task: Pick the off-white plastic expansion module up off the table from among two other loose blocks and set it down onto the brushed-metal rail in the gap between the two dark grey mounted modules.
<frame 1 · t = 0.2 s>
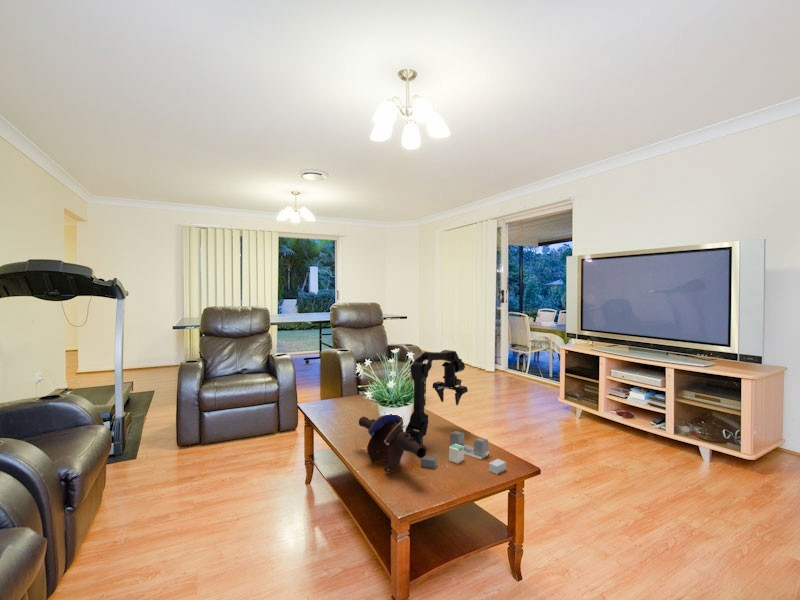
hand: (449, 403, 201), 14 cm above the table, fingers open, 9 cm apart
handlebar: (388, 465, 163), on the table
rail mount: (468, 451, 176), on the table
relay: (429, 466, 163), on the table
terminal block: (497, 470, 158), on the table
module: (456, 460, 168), on the table
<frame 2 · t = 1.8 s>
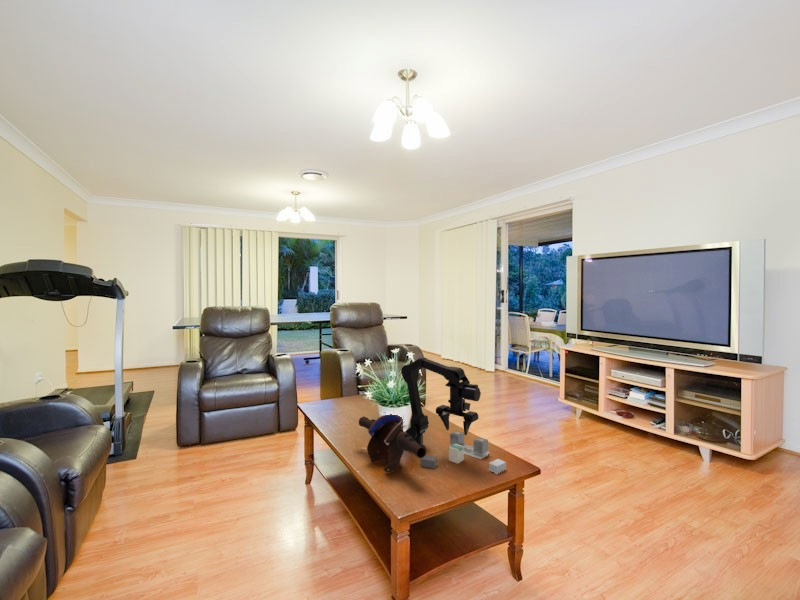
hand: (456, 432, 167), 12 cm above the table, fingers open, 9 cm apart
nothing on the table moved.
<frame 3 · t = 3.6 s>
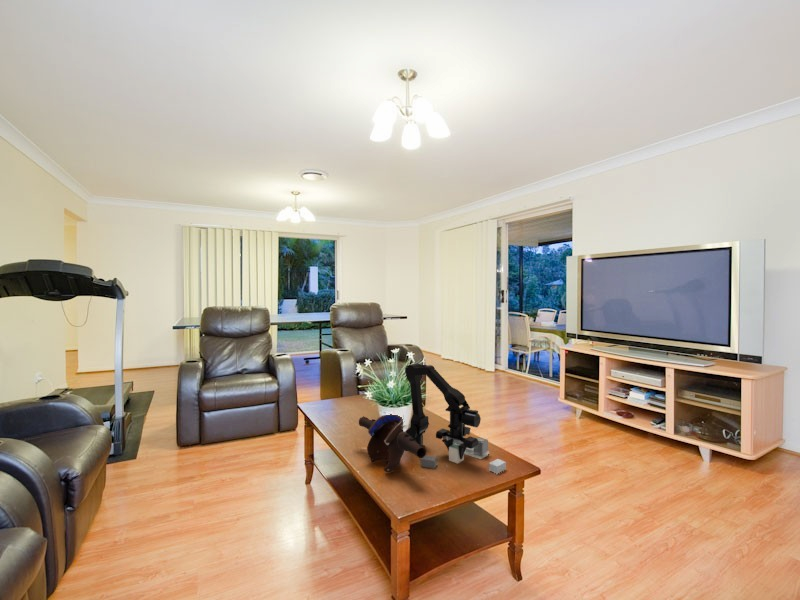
hand: (456, 457, 168), 1 cm above the table, fingers closed on module, 4 cm apart
module: (456, 460, 168), on the table, touching gripper
everything else where it was.
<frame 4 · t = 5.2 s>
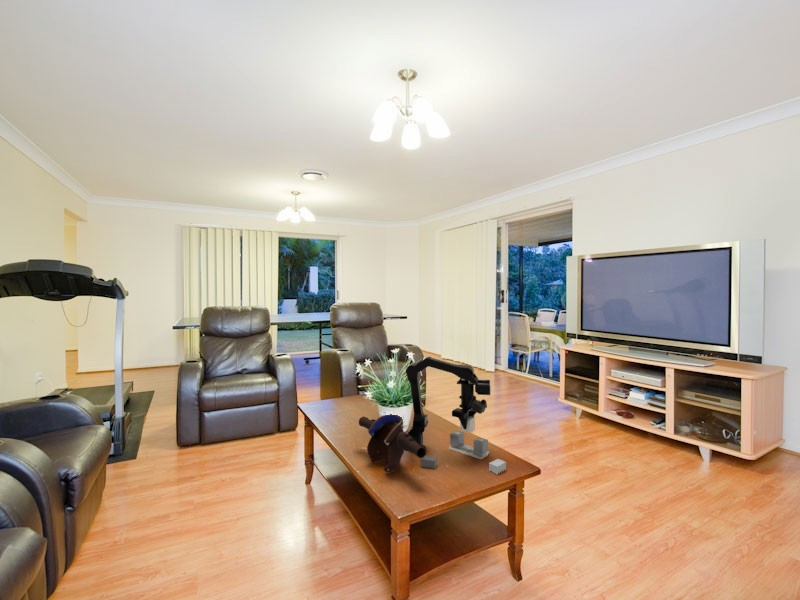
hand: (467, 427, 175), 12 cm above the table, fingers closed on module, 4 cm apart
module: (467, 430, 175), point 10 cm above the table, touching gripper
everything else where it was.
when the fingers open (4 cm above the table, at t = 7.0 s): module stays where it is, resting on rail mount.
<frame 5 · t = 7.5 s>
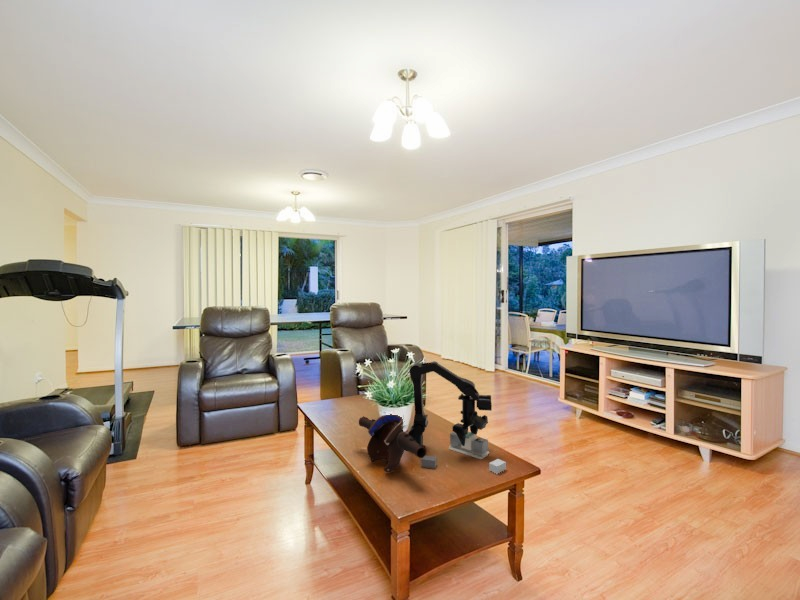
hand: (468, 442, 176), 4 cm above the table, fingers open, 9 cm apart
module: (468, 447, 176), point 2 cm above the table, touching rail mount
everything else where it was.
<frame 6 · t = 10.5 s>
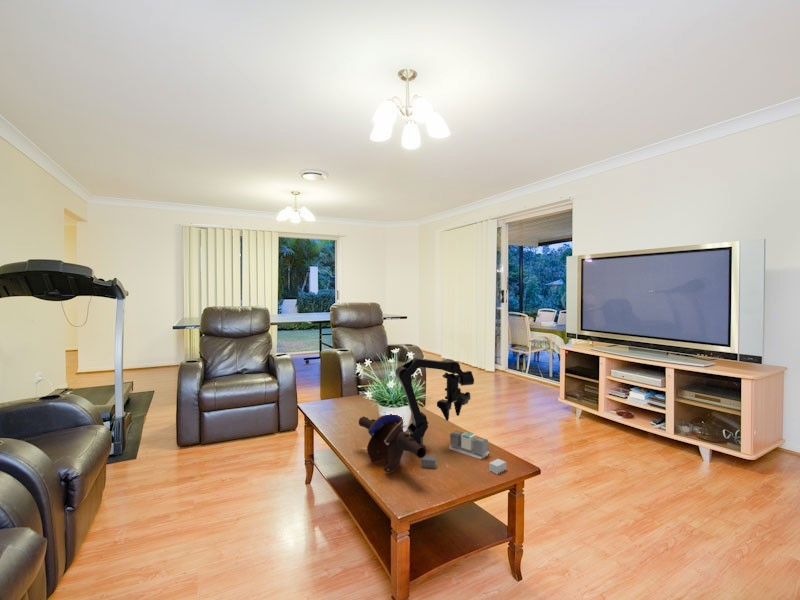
hand: (452, 418, 186), 12 cm above the table, fingers open, 9 cm apart
nothing on the table moved.
at the end: module 0.1 cm from the target spot, point 2.0 cm above the table; module tilted 0°; the gripper is holding nothing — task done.
